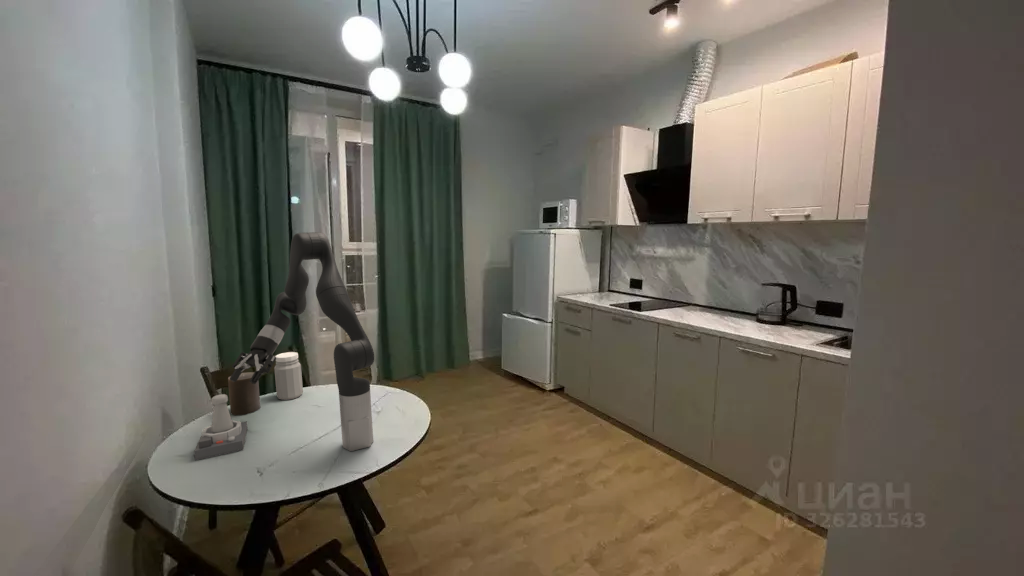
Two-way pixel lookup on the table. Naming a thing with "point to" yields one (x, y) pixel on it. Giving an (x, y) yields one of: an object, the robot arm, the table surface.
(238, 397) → the pillar candle
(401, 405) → the table surface
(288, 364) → the jar
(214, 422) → the salt shaker
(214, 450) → the octagon ring base
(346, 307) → the robot arm
